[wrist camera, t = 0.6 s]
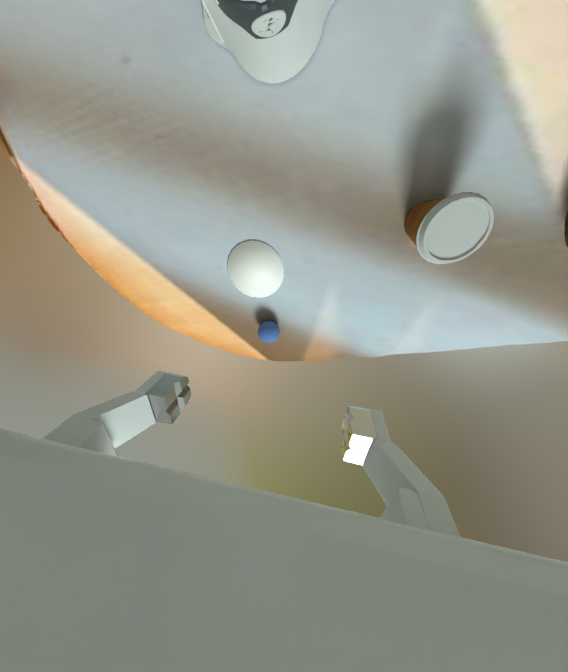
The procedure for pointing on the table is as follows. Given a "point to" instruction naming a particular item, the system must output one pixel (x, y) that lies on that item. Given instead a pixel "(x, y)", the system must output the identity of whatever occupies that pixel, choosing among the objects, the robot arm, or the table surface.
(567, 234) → the jug
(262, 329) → the ball
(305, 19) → the robot arm
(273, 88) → the table surface
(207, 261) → the table surface
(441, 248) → the disposable coffee cup
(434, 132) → the table surface
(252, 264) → the disc
